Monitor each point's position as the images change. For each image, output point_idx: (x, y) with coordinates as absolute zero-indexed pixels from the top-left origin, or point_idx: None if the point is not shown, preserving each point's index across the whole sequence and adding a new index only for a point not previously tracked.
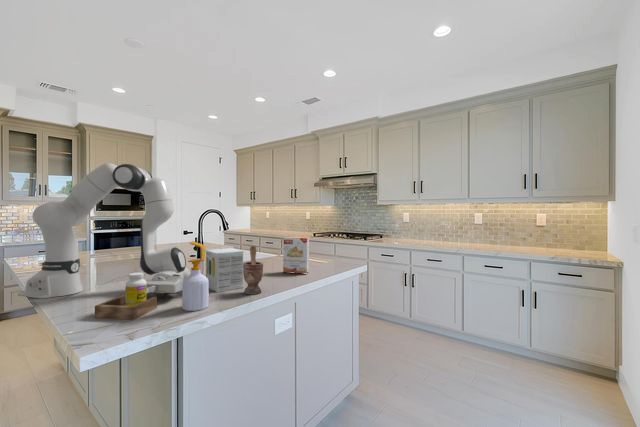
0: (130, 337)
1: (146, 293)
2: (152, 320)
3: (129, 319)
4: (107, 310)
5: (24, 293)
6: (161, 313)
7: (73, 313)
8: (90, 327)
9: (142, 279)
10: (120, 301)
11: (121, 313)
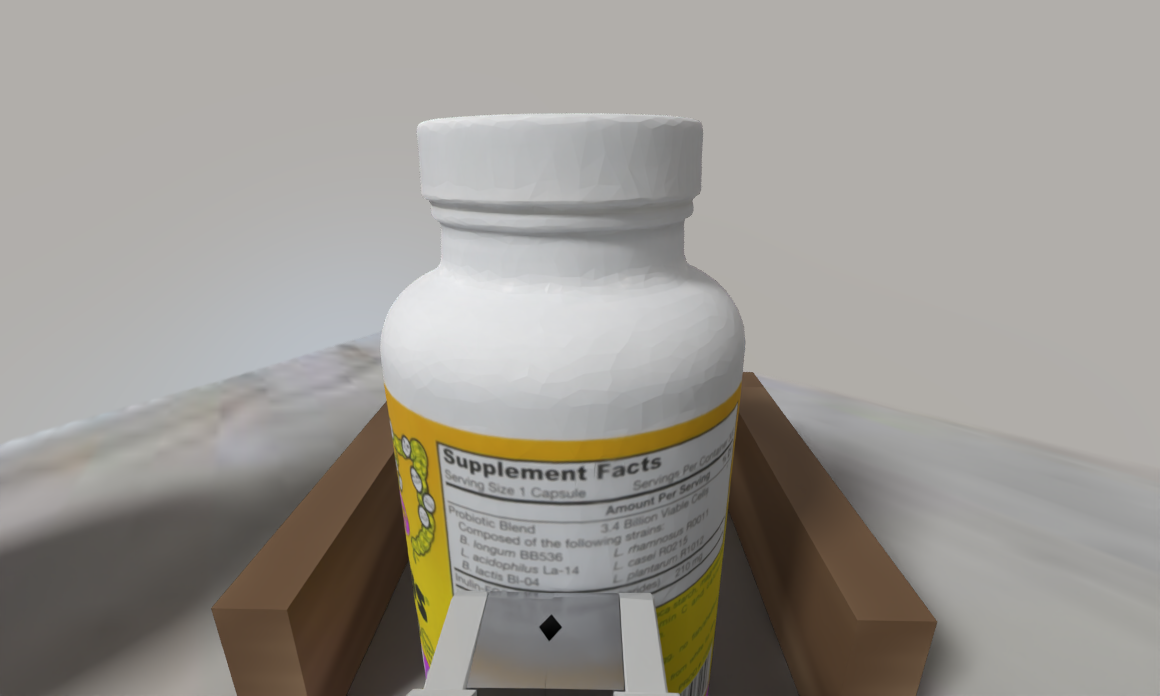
0: (355, 351)
1: (410, 558)
2: (277, 455)
3: None
4: None
5: None
6: (194, 565)
7: (1058, 508)
8: None
9: (442, 255)
10: (800, 580)
11: None
